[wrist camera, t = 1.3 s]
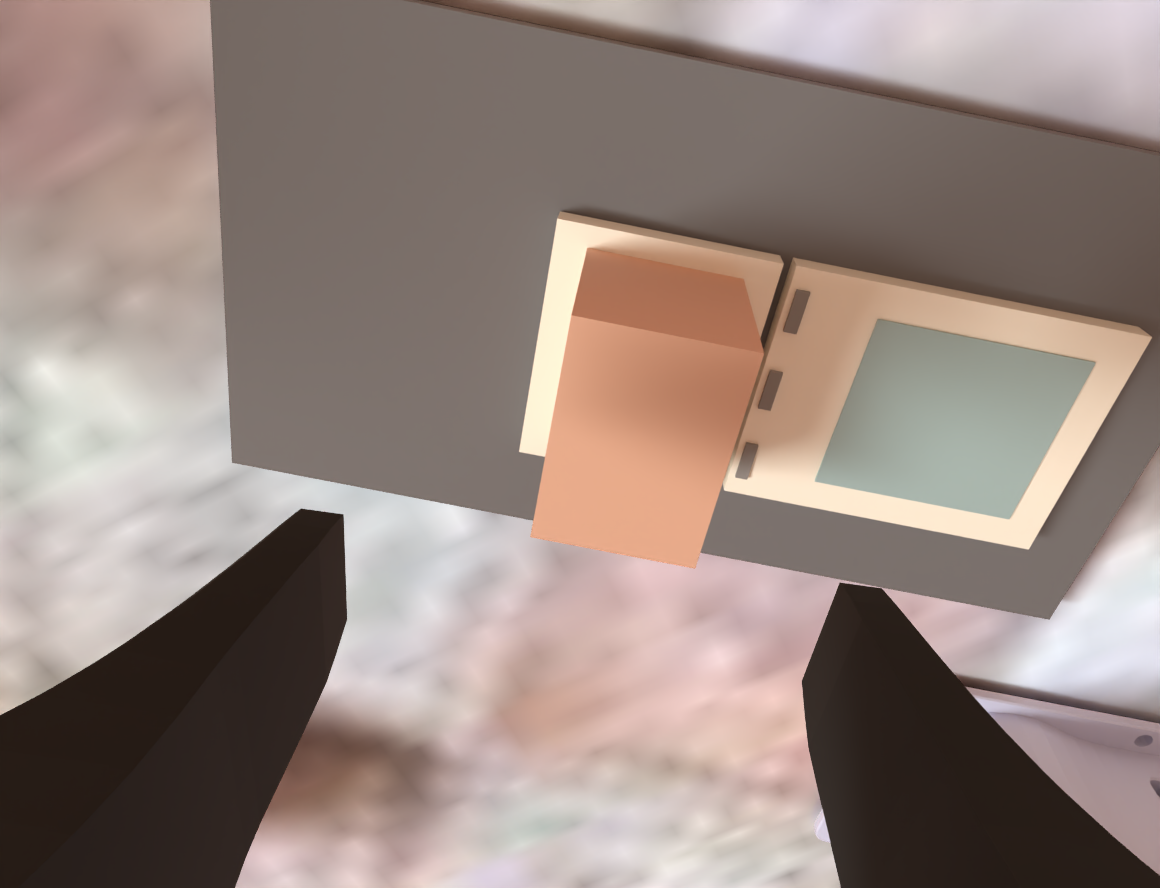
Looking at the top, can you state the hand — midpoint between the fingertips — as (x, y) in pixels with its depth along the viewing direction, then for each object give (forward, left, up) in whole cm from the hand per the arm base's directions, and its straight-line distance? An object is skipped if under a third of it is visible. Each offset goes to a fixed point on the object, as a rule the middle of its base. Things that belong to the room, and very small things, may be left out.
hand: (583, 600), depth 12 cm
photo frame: (-8, 0, -10) cm, 12 cm away
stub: (-1, 0, -10) cm, 10 cm away
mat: (-2, 0, -10) cm, 10 cm away
